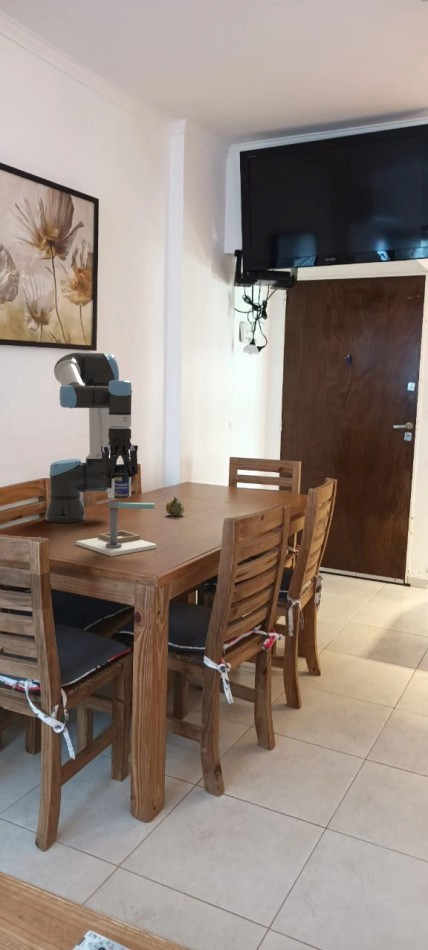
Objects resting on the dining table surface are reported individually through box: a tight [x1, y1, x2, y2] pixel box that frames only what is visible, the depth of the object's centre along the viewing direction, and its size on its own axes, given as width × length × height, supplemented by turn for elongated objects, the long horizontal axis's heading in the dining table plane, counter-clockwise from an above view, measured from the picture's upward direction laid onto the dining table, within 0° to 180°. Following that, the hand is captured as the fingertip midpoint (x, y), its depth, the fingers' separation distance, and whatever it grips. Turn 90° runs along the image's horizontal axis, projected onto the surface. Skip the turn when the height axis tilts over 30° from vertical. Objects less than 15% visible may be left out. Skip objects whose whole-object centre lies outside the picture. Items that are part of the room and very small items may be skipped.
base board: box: [75, 508, 158, 557], centre depth 231 cm, size 20×18×14 cm
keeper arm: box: [107, 500, 156, 510], centre depth 225 cm, size 15×4×2 cm, turn 89°
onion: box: [165, 496, 185, 517], centre depth 288 cm, size 8×8×8 cm
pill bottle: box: [112, 463, 129, 500], centre depth 235 cm, size 6×6×11 cm
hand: (119, 496), depth 236 cm, fingers closed on pill bottle, 6 cm apart
